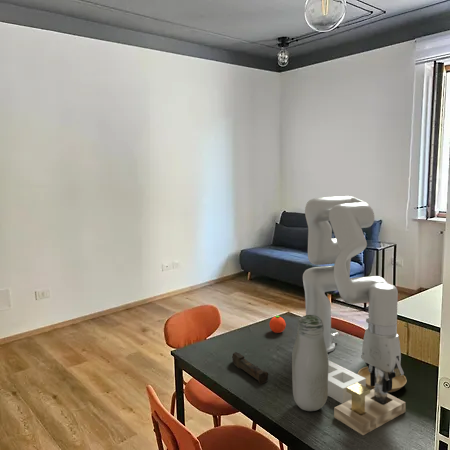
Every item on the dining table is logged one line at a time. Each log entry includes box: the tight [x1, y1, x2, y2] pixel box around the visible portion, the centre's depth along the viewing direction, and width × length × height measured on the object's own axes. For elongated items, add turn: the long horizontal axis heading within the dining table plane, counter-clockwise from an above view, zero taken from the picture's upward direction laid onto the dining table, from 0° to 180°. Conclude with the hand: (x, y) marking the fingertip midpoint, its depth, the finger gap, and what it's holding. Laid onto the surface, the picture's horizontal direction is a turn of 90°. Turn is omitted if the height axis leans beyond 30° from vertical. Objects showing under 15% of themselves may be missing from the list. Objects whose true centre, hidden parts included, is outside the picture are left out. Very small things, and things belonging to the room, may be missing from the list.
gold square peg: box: [347, 383, 371, 416], centre depth 117 cm, size 4×4×9 cm
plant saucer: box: [357, 366, 407, 394], centre depth 137 cm, size 15×15×3 cm
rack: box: [327, 359, 367, 404], centre depth 135 cm, size 10×16×5 cm, turn 33°
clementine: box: [268, 315, 287, 334], centre depth 182 cm, size 8×7×7 cm
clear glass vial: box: [374, 367, 387, 405], centre depth 123 cm, size 4×4×11 cm
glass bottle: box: [291, 314, 330, 412], centre depth 123 cm, size 10×10×28 cm
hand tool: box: [231, 351, 269, 385], centre depth 148 cm, size 19×4×5 cm, turn 29°
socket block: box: [333, 389, 407, 436], centre depth 120 cm, size 18×10×3 cm, turn 123°
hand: (380, 387), depth 123 cm, fingers closed on clear glass vial, 3 cm apart
